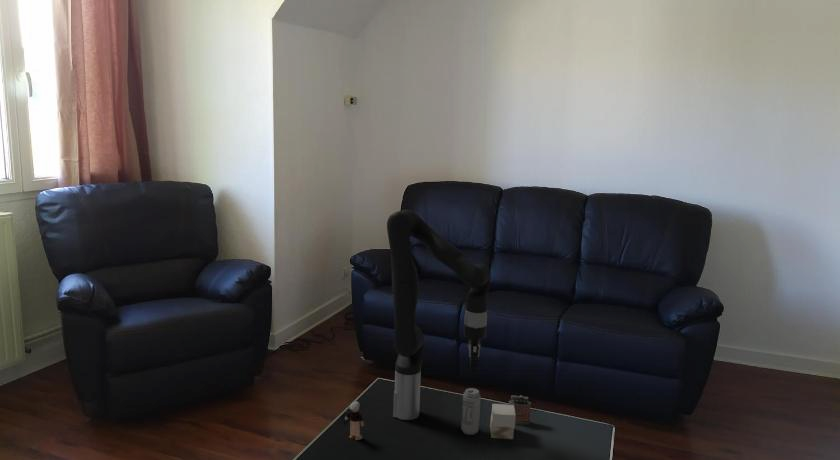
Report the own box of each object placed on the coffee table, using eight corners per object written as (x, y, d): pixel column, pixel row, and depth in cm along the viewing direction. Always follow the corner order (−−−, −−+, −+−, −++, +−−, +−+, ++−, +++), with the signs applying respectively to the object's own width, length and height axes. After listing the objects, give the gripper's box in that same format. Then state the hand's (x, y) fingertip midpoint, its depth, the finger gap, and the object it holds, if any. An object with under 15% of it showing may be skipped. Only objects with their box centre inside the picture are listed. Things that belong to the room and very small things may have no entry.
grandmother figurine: (367, 436, 205) (367, 401, 202) (362, 441, 201) (363, 406, 199) (346, 431, 207) (347, 397, 205) (341, 437, 203) (342, 402, 201)
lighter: (529, 420, 220) (531, 394, 218) (530, 425, 216) (532, 399, 214) (507, 418, 220) (508, 393, 218) (507, 423, 217) (509, 397, 215)
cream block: (492, 426, 206) (493, 413, 205) (491, 415, 213) (492, 403, 212) (514, 427, 205) (515, 415, 204) (512, 416, 213) (513, 405, 212)
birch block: (491, 438, 207) (491, 425, 206) (490, 427, 214) (490, 415, 213) (513, 439, 206) (514, 427, 205) (511, 428, 214) (512, 416, 213)
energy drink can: (481, 433, 209) (484, 392, 207) (467, 437, 206) (470, 396, 204) (471, 425, 214) (473, 385, 212) (457, 429, 211) (459, 389, 209)
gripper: (464, 315, 210) (462, 359, 213) (464, 329, 196) (462, 376, 199) (485, 316, 210) (483, 360, 213) (487, 330, 196) (484, 377, 199)
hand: (473, 368), depth 206 cm, fingers open, 8 cm apart
